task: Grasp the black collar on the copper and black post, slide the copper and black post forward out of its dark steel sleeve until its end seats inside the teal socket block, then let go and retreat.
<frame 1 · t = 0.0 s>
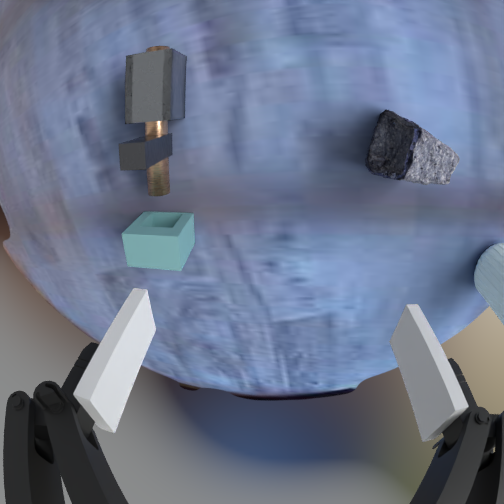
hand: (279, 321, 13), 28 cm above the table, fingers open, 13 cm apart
socket: (169, 227, 42), on the table
stone: (396, 147, 34), on the table
sleeve: (164, 88, 32), on the table
copper and black post: (147, 121, 29), point 6 cm above the table, slide at 0.0 cm
vase: (488, 262, 42), on the table
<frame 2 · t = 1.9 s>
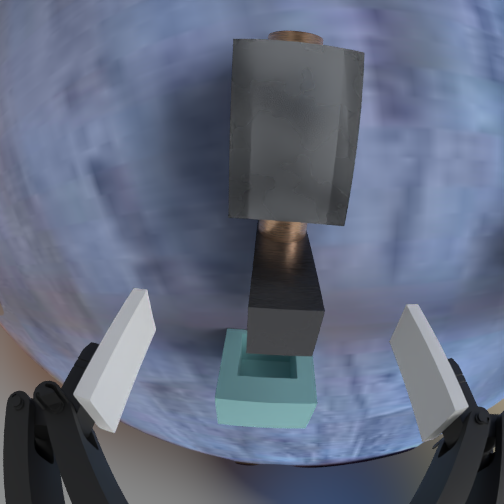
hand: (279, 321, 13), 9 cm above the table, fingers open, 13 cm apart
socket: (266, 348, 28), on the table
sleeve: (287, 124, 17), on the table
copper and black post: (287, 220, 14), point 6 cm above the table, slide at 0.0 cm
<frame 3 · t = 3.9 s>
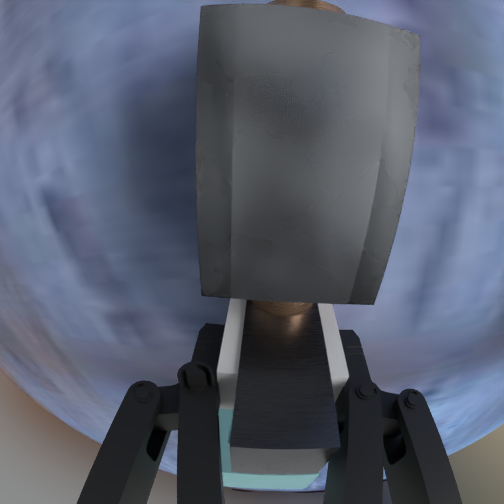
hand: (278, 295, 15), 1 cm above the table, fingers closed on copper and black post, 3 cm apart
socket: (262, 401, 23), on the table
sleeve: (291, 140, 12), on the table
copper and black post: (290, 300, 9), point 6 cm above the table, slide at 0.0 cm, touching gripper
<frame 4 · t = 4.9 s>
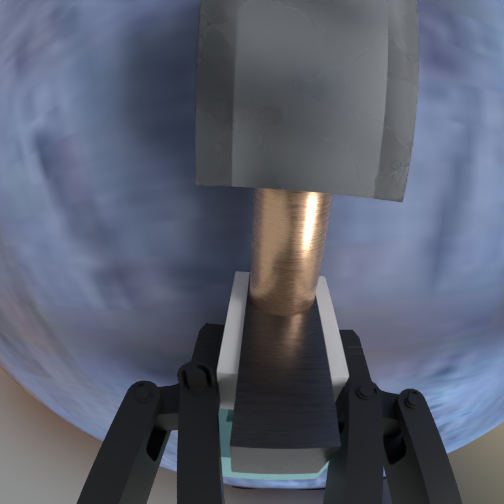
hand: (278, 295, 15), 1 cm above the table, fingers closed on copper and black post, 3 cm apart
socket: (266, 378, 21), on the table
sleeve: (295, 64, 11), on the table
copper and black post: (290, 299, 9), point 6 cm above the table, slide at 3.8 cm, touching gripper
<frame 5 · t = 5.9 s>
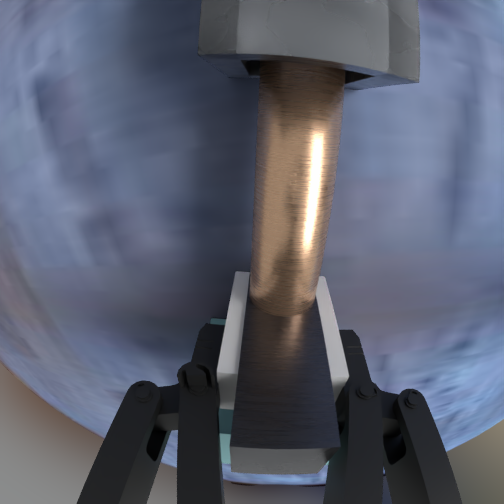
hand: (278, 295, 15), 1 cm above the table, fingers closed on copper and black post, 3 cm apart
socket: (270, 348, 19), on the table
copper and black post: (290, 300, 9), point 6 cm above the table, slide at 7.4 cm, touching gripper
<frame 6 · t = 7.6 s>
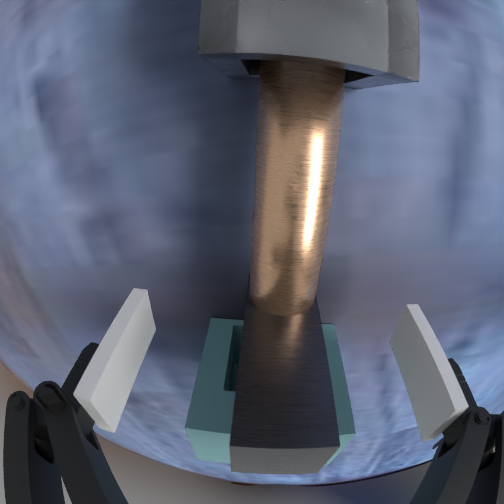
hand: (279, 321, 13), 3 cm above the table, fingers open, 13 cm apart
socket: (270, 347, 19), on the table
copper and black post: (290, 299, 9), point 6 cm above the table, slide at 7.5 cm
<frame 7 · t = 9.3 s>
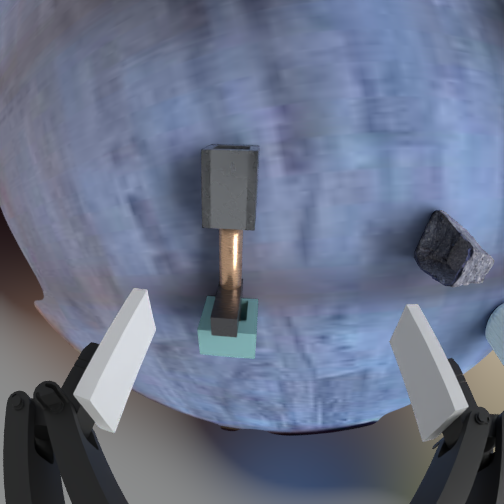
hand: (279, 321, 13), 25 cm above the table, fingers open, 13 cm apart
socket: (232, 310, 45), on the table
stone: (440, 238, 38), on the table
sleeve: (234, 179, 36), on the table
copper and black post: (228, 283, 36), point 6 cm above the table, slide at 7.5 cm
vase: (497, 315, 45), on the table
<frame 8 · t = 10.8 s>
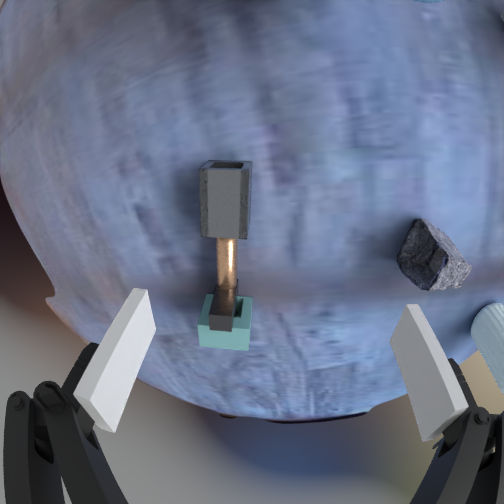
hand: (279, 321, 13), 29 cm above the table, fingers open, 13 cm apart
socket: (229, 306, 50), on the table
stone: (422, 243, 42), on the table
sleeve: (229, 191, 40), on the table
copper and black post: (224, 284, 41), point 6 cm above the table, slide at 7.5 cm
vase: (483, 315, 50), on the table
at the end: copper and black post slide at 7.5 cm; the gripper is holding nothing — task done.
